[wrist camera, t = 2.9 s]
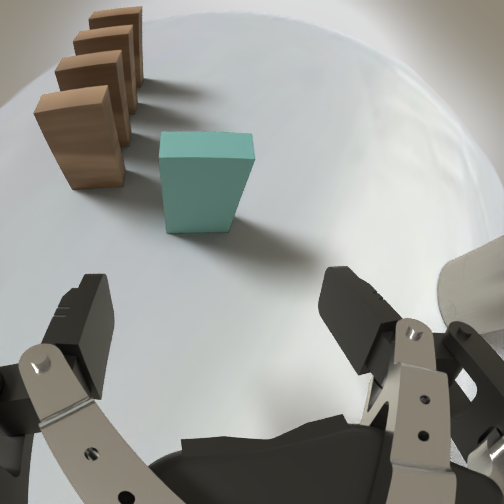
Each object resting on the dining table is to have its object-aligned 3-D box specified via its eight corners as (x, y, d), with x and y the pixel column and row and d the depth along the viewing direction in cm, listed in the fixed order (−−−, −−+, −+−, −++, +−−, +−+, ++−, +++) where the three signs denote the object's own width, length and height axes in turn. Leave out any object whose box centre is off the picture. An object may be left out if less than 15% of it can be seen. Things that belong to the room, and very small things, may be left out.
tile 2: (75, 172, 23) (42, 94, 14) (125, 169, 24) (107, 85, 15) (72, 189, 23) (33, 113, 13) (123, 186, 24) (101, 103, 15)
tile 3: (85, 135, 25) (62, 58, 15) (131, 132, 26) (121, 49, 16) (81, 149, 24) (54, 71, 15) (129, 146, 25) (116, 62, 16)
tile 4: (94, 105, 26) (79, 31, 17) (137, 102, 27) (132, 24, 18) (90, 117, 25) (73, 41, 16) (135, 113, 27) (128, 33, 17)
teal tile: (167, 213, 24) (161, 131, 15) (226, 212, 25) (252, 133, 16) (166, 233, 23) (158, 157, 14) (228, 232, 24) (255, 159, 15)
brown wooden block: (103, 81, 27) (94, 11, 18) (143, 77, 29) (142, 6, 19) (99, 90, 27) (88, 19, 18) (141, 87, 28) (138, 13, 19)
